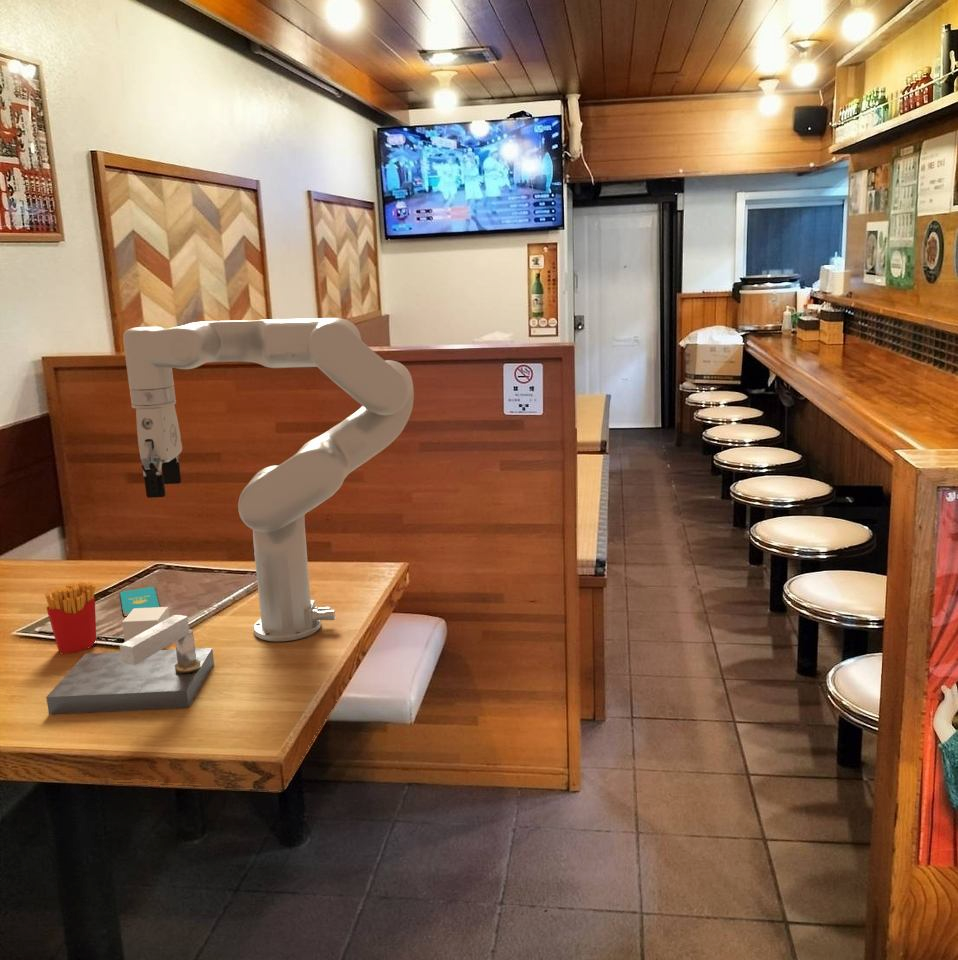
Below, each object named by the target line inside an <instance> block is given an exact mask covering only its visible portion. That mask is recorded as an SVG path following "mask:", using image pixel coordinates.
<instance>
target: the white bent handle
mask: <svg viewBox="0 0 958 960" xmlns="http://www.w3.org/2000/svg"><path fill="white" fill-rule="evenodd" d="M172 644H175V650H176V654H177V661H178V663H177V664H176V665H175V670H176V672H179V673H189V672H193V671H195V670H197V669H199V668H200V661H199V660H196V651H195V649H196V645H195V635H194V630H192V629H190V625H189V617H188V616H187V615H181V614H173V615H171V616H169V618H168V619H166V620H164V621H163V622H161V623H159V624H157V625H155V626H153V627H152V628H150V629H148V630H146V631H144V632H142V633H141V634H139V635H137V636H135V637H133V638H131V639H129V640H128V641H126V642H125V641H124V642H122V643H121V644H119V652H121V659H122V663H124V664H130V665H136V664H138V663H140V662H141V661H143V660H145V659H147V658H148V657H150V656H152V655H153V654H155V653H157V652H159V651H160V650H165V648H167V647H169V646H171V645H172Z"/></svg>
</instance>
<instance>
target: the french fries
mask: <svg viewBox="0 0 958 960" xmlns="http://www.w3.org/2000/svg"><path fill="white" fill-rule="evenodd" d="M95 590H96V585H95V583H93V582H92V581H89V582H83V581H78V583H77V584H76V582H71V583H65V586H63V587H57V588H52V589H51V590H50V593H49V592H47V593H44V595H45V599H46V603H47V605H48V606H46V612H47V615H48V619H49V623H50V625H51V629H52V633H53V637H54V639H55V643H56V647H57V651H58V650H59V651H60V652H61V653H69V654H72V652H73V653H76V651H77V652H80V651H84V650H86V648H87V649H89V648H88V647H90V648H92V647H91V646H93V644H94V642H95V640H96V641H97V626H96V625H97V621H96V619H97V618H96V598H95ZM50 594H51V595H50ZM93 647H94V646H93ZM83 649H84V650H83ZM60 652H59V653H60ZM61 653H60V654H61Z"/></svg>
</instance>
